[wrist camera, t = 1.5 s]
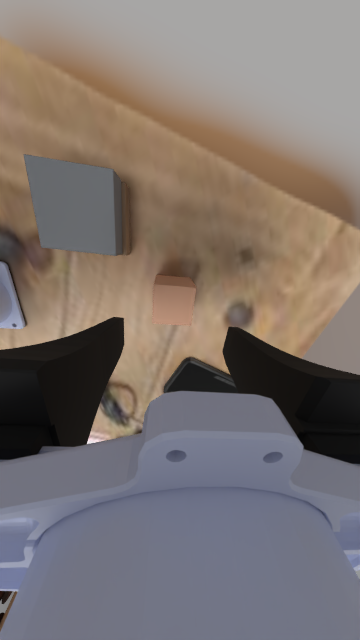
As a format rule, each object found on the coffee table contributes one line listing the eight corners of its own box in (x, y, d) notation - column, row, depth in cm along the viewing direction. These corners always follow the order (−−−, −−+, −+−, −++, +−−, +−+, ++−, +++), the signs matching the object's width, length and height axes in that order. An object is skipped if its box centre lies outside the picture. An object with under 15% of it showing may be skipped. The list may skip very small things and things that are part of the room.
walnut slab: (75, 248, 19) (63, 249, 17) (66, 180, 17) (50, 171, 14) (131, 253, 20) (126, 255, 18) (130, 189, 17) (124, 182, 15)
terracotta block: (155, 306, 22) (152, 323, 18) (156, 274, 21) (153, 284, 16) (186, 308, 23) (191, 325, 18) (190, 277, 21) (196, 287, 16)
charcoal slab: (58, 246, 17) (41, 247, 14) (46, 168, 14) (23, 154, 12) (122, 253, 17) (115, 255, 15) (121, 180, 15) (112, 169, 13)
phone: (233, 421, 32) (161, 393, 27) (231, 415, 33) (161, 388, 29) (263, 393, 29) (187, 357, 25) (260, 387, 30) (187, 353, 26)
